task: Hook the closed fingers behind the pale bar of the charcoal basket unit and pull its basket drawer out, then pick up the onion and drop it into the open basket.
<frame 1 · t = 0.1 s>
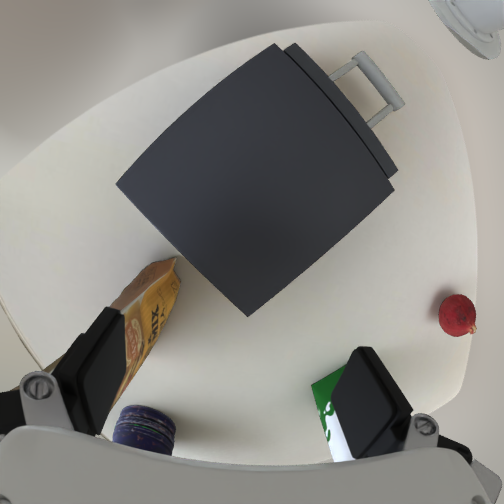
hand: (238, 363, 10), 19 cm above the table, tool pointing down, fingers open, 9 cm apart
drawer: (303, 137, 21), point 5 cm above the table, slide at 0.5 cm
onion: (442, 303, 33), on the table
pancake mix bag: (138, 307, 30), on the table
cabinet: (252, 175, 27), on the table
navy blue cylinder: (148, 422, 37), on the table
milk carton: (341, 383, 36), on the table
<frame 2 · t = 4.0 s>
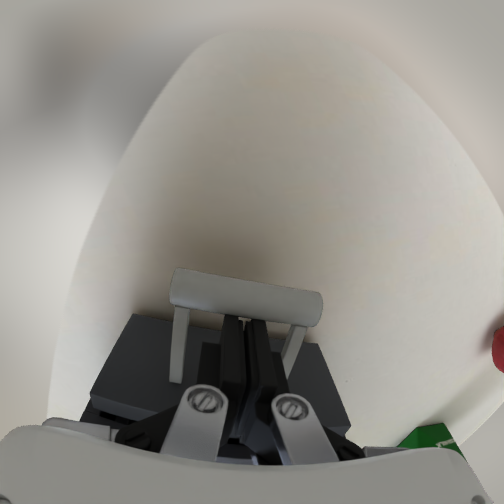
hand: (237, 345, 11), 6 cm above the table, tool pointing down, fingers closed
drawer: (216, 411, 15), point 5 cm above the table, slide at 0.5 cm, touching gripper
onion: (494, 331, 22), on the table
cabinet: (210, 406, 21), on the table
milk carton: (415, 438, 27), on the table
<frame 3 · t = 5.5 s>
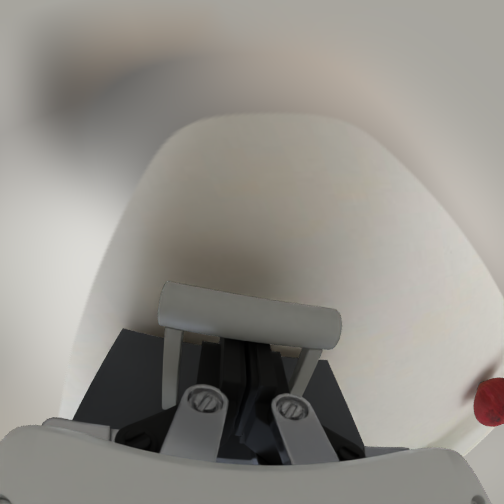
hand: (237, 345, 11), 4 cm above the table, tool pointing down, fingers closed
drawer: (216, 436, 13), point 5 cm above the table, slide at 6.9 cm, touching gripper
onion: (478, 383, 22), on the table
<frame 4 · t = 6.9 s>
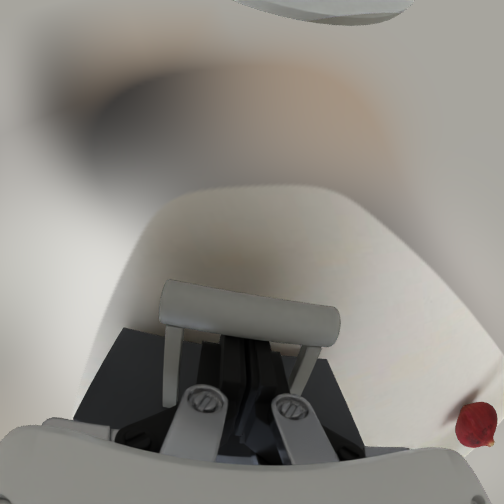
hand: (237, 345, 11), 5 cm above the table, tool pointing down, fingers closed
drawer: (216, 434, 13), point 5 cm above the table, slide at 10.8 cm
onion: (462, 406, 23), on the table
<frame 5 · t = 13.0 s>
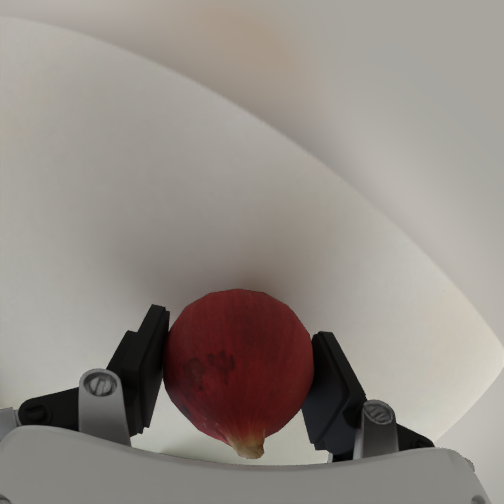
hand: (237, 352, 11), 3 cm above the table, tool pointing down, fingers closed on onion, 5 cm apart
onion: (236, 313, 14), on the table, touching gripper
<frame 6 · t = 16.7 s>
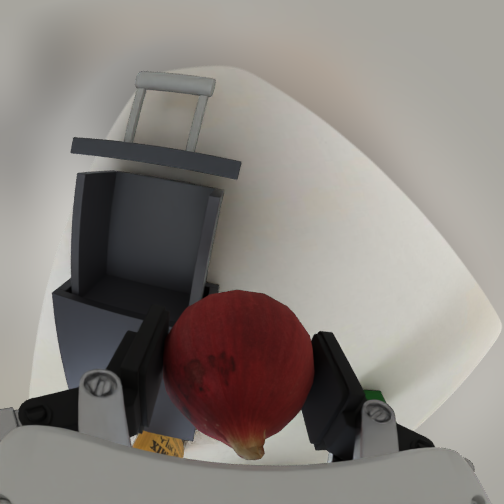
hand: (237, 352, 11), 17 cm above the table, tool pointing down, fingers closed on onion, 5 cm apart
drawer: (153, 195, 21), point 5 cm above the table, slide at 11.0 cm
onion: (236, 314, 14), point 14 cm above the table, touching gripper
pancake mix bag: (160, 427, 35), on the table
cabinet: (149, 329, 30), on the table
when the fingers open (7 cm above the table, at t = 20.4 s): onion drops 2 cm, resting on drawer.
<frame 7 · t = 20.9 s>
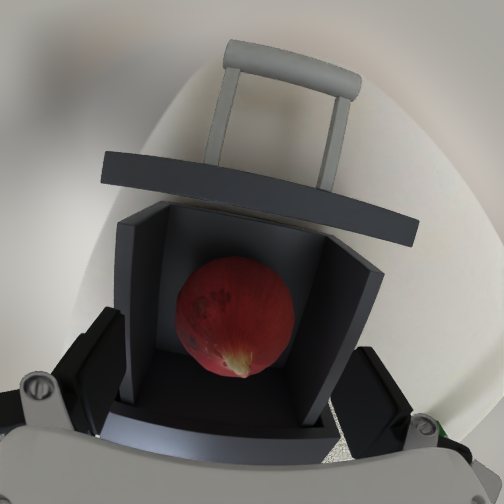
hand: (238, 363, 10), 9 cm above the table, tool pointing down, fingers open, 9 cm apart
drawer: (248, 252, 14), point 5 cm above the table, slide at 11.0 cm, touching onion
onion: (235, 287, 17), point 2 cm above the table, touching drawer
cabinet: (210, 399, 23), on the table
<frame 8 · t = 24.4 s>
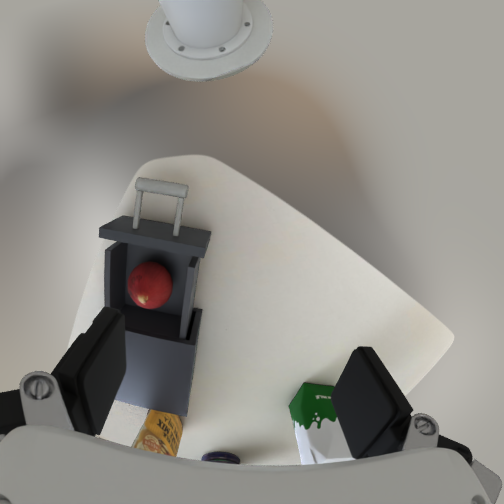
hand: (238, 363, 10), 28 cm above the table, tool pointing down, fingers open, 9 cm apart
drawer: (154, 258, 33), point 5 cm above the table, slide at 11.0 cm, touching onion
onion: (157, 273, 37), point 2 cm above the table, touching drawer
pancake mix bag: (164, 411, 48), on the table
cabinet: (155, 338, 42), on the table
navy blue cylinder: (220, 459, 55), on the table
milk carton: (311, 395, 48), on the table
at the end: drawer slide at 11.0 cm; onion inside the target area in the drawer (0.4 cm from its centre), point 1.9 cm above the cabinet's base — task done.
